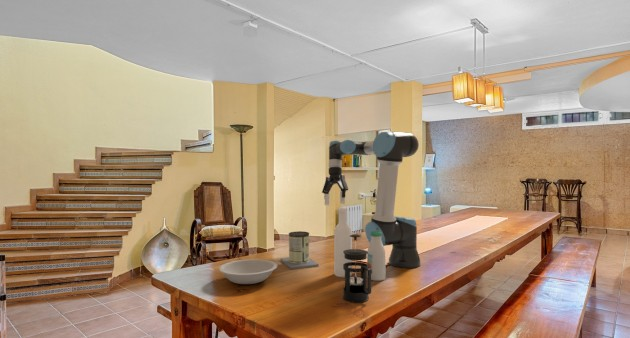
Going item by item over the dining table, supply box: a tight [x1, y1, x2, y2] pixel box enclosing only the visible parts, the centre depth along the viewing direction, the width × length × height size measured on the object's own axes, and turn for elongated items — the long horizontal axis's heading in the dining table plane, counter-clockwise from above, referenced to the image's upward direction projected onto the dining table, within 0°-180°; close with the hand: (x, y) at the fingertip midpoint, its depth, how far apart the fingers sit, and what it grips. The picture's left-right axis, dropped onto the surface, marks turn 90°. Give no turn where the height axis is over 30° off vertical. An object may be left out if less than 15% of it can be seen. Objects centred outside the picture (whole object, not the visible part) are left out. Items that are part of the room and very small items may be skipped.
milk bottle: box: [366, 231, 387, 282], centre depth 152 cm, size 8×8×20 cm
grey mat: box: [280, 257, 320, 270], centre depth 177 cm, size 18×14×1 cm
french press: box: [342, 233, 372, 304], centre depth 128 cm, size 12×9×23 cm
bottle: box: [333, 206, 353, 278], centre depth 157 cm, size 8×8×30 cm
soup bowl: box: [218, 258, 278, 285], centre depth 148 cm, size 24×24×7 cm
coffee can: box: [288, 231, 310, 264], centre depth 177 cm, size 10×10×14 cm
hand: (334, 204), depth 200 cm, fingers open, 13 cm apart
